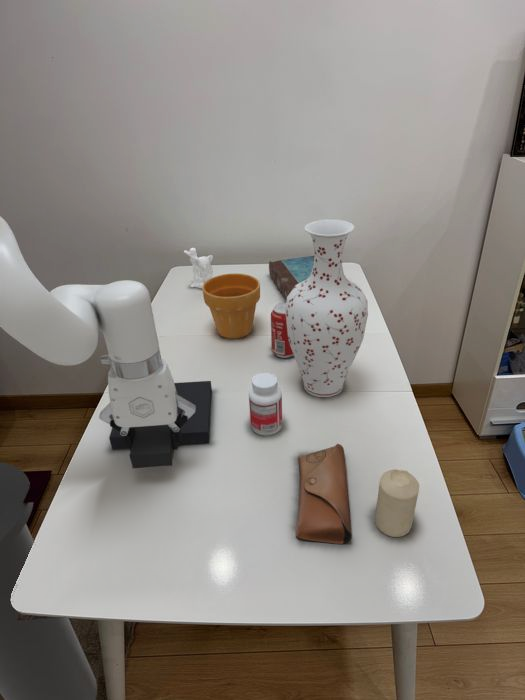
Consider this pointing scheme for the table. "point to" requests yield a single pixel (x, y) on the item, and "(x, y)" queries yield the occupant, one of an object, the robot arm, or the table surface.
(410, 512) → the candle
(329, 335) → the vase
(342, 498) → the sunglasses case
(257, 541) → the table surface
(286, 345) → the beverage can
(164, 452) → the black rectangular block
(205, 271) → the white animal figurine
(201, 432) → the base pad
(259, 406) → the pill bottle
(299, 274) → the book
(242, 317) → the flower pot
